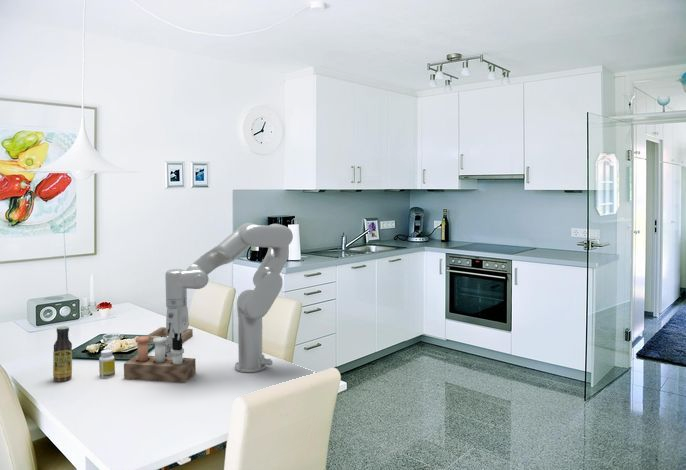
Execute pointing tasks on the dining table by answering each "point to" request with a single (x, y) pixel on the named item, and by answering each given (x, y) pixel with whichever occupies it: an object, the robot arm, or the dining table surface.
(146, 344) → the terracotta plug
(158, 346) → the grey plug
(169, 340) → the electrical switch
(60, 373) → the sauce bottle
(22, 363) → the dining table surface
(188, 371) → the block
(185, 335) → the square wooden frame
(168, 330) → the robot arm
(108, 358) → the supplement bottle
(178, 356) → the grey plug
